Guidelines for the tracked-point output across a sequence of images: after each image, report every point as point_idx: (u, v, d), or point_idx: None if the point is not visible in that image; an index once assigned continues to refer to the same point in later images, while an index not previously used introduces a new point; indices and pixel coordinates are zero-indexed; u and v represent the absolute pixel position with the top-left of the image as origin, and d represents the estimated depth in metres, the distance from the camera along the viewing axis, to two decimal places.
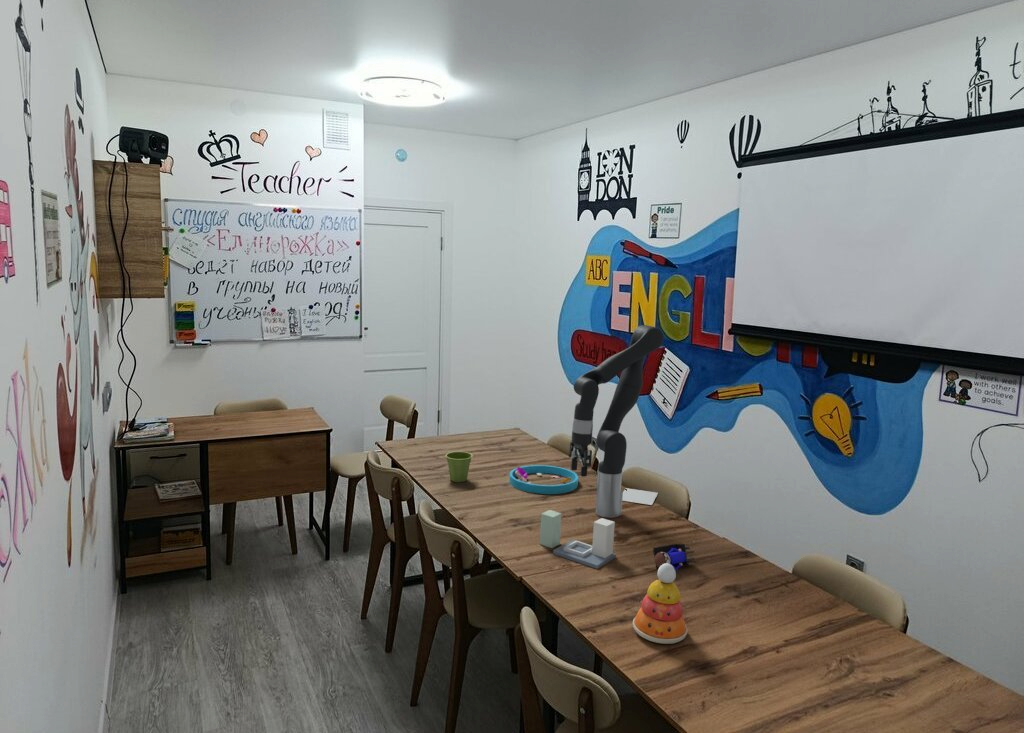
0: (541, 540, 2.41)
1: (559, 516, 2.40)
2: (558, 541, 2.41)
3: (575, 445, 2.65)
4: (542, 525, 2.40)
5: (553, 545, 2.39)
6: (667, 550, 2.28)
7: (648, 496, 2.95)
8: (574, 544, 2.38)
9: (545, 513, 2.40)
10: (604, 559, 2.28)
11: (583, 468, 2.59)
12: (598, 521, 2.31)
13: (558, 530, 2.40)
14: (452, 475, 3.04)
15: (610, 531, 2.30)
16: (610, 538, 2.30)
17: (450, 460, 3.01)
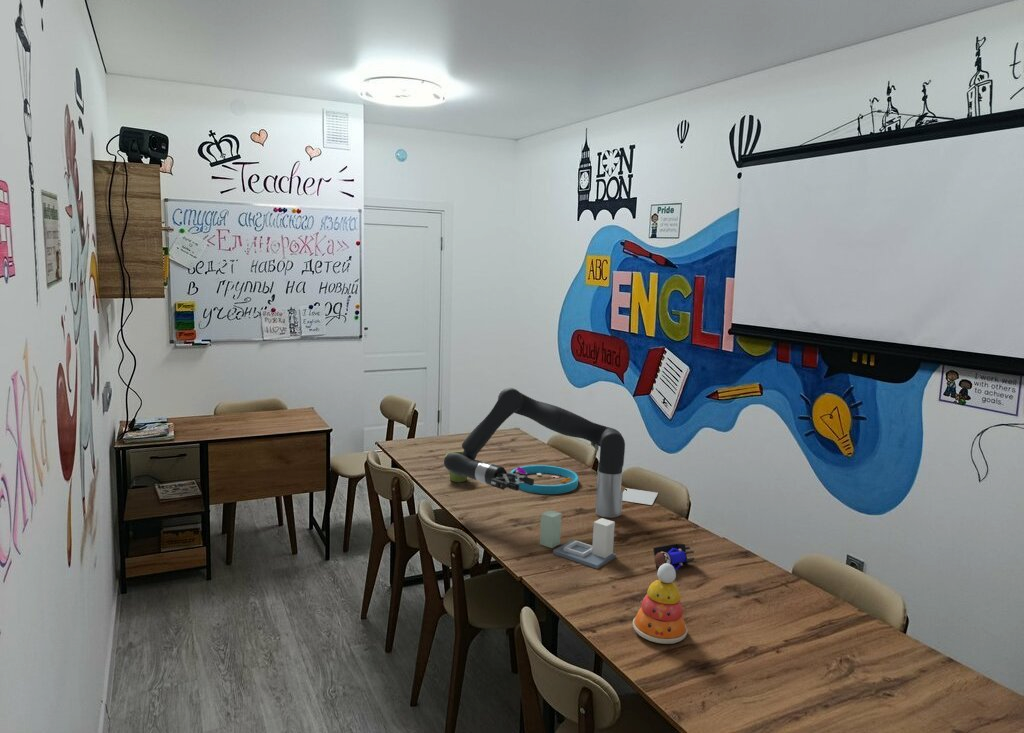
0: (541, 540, 2.41)
1: (559, 515, 2.40)
2: (558, 541, 2.41)
3: None
4: (542, 525, 2.40)
5: (553, 545, 2.39)
6: (667, 550, 2.28)
7: (648, 496, 2.95)
8: (574, 544, 2.38)
9: (545, 513, 2.40)
10: (604, 559, 2.28)
11: (510, 487, 2.44)
12: (598, 521, 2.31)
13: (558, 530, 2.40)
14: (452, 475, 3.04)
15: (610, 531, 2.30)
16: (610, 538, 2.30)
17: None
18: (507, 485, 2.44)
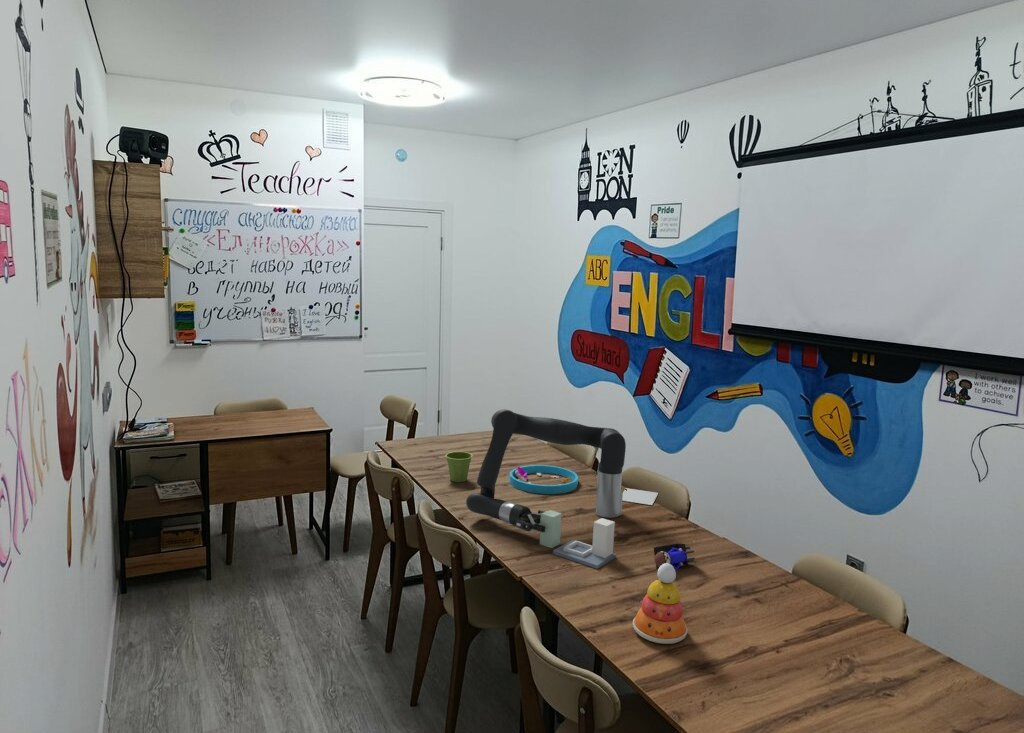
0: (541, 540, 2.41)
1: (559, 516, 2.40)
2: (558, 541, 2.41)
3: None
4: None
5: (553, 545, 2.39)
6: (667, 550, 2.28)
7: (648, 496, 2.95)
8: (574, 544, 2.38)
9: (545, 513, 2.40)
10: (604, 559, 2.28)
11: (535, 529, 2.39)
12: (598, 521, 2.31)
13: (558, 530, 2.40)
14: (452, 475, 3.04)
15: (610, 531, 2.30)
16: (610, 538, 2.30)
17: (450, 460, 3.02)
18: (533, 527, 2.39)
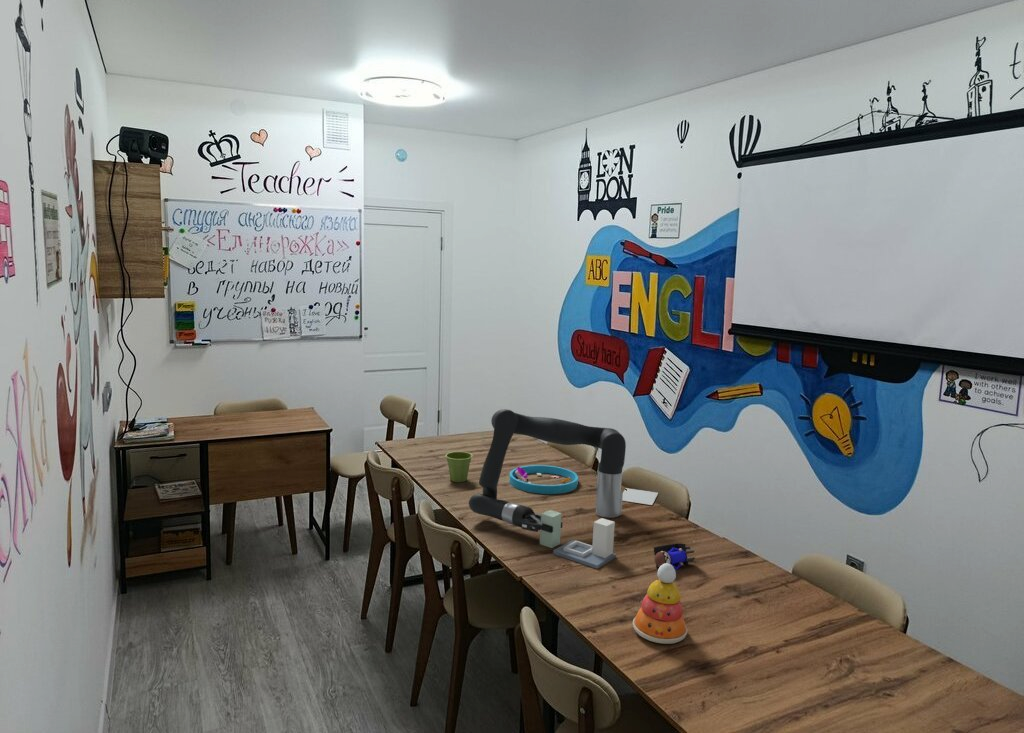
0: (541, 540, 2.41)
1: (559, 515, 2.40)
2: (558, 541, 2.41)
3: None
4: None
5: (553, 545, 2.39)
6: (668, 549, 2.28)
7: (648, 496, 2.95)
8: (574, 544, 2.38)
9: (545, 513, 2.40)
10: (604, 559, 2.28)
11: (543, 529, 2.39)
12: (598, 521, 2.31)
13: (558, 530, 2.40)
14: (452, 475, 3.04)
15: (610, 531, 2.30)
16: (610, 538, 2.30)
17: (450, 460, 3.01)
18: (540, 527, 2.38)
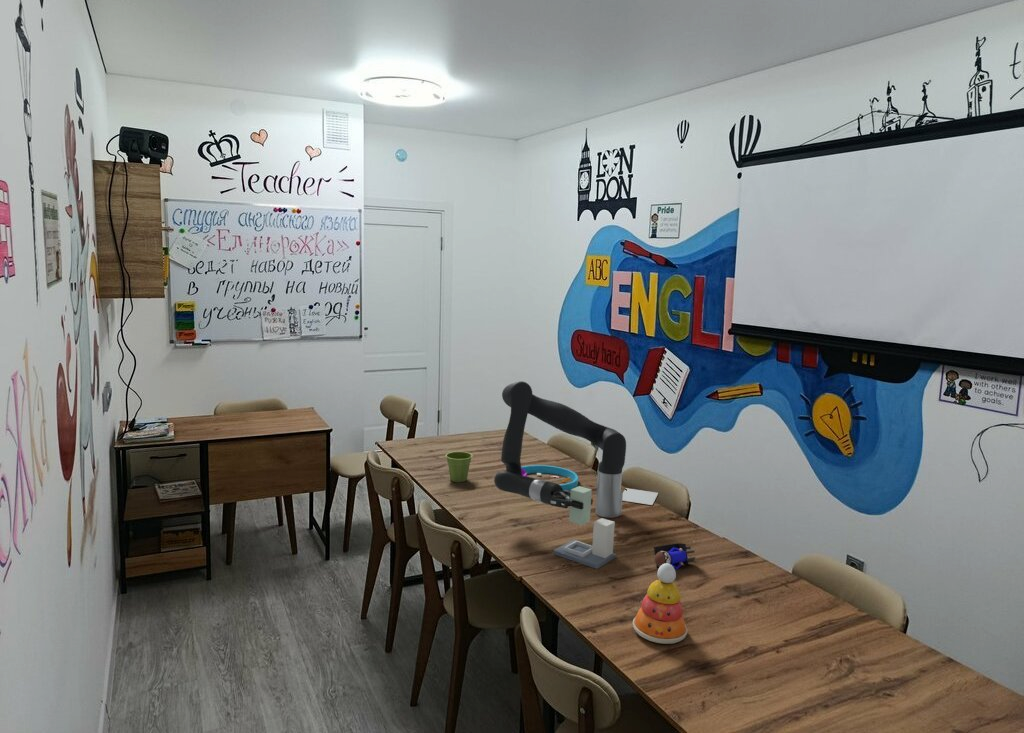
0: (570, 517, 2.32)
1: (589, 492, 2.31)
2: (588, 518, 2.33)
3: None
4: None
5: (583, 522, 2.30)
6: (668, 549, 2.28)
7: (648, 496, 2.95)
8: (574, 544, 2.38)
9: (575, 489, 2.31)
10: (604, 559, 2.28)
11: (573, 506, 2.30)
12: (598, 521, 2.31)
13: (588, 507, 2.32)
14: (452, 475, 3.04)
15: (610, 531, 2.30)
16: (610, 538, 2.30)
17: (450, 460, 3.01)
18: (570, 504, 2.30)
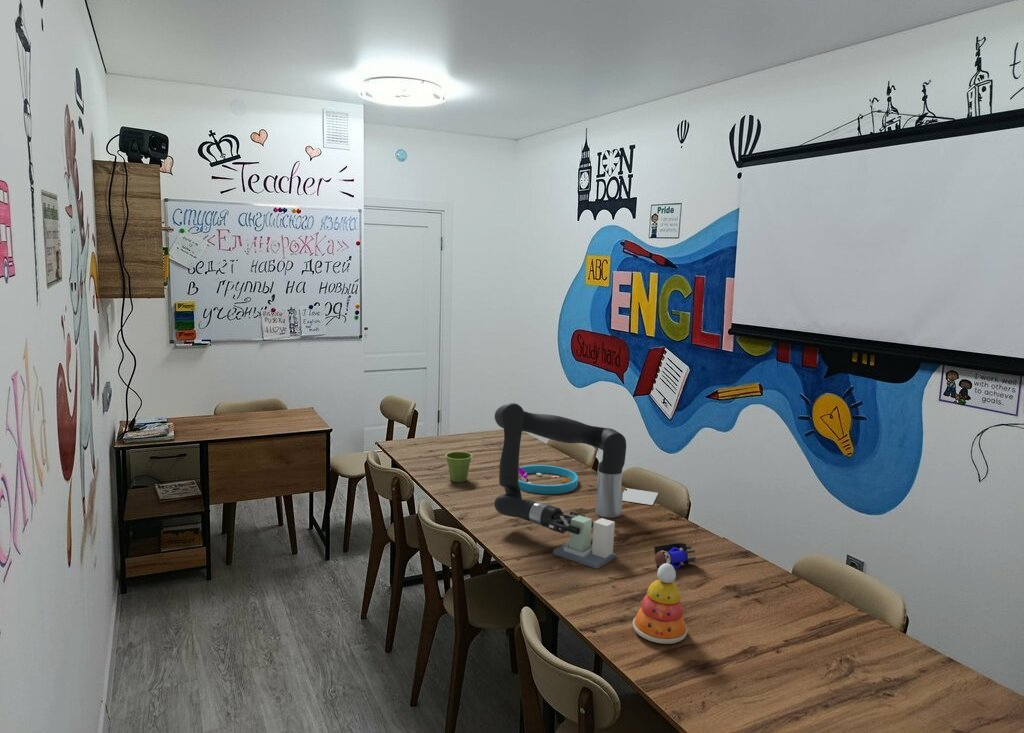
0: (571, 546, 2.33)
1: (589, 521, 2.32)
2: (588, 547, 2.34)
3: None
4: None
5: None
6: (668, 549, 2.29)
7: (648, 496, 2.95)
8: None
9: (575, 518, 2.33)
10: (604, 559, 2.28)
11: (570, 531, 2.30)
12: (598, 521, 2.31)
13: (588, 536, 2.33)
14: (452, 475, 3.04)
15: (610, 531, 2.30)
16: (610, 538, 2.30)
17: (450, 460, 3.01)
18: (567, 529, 2.30)
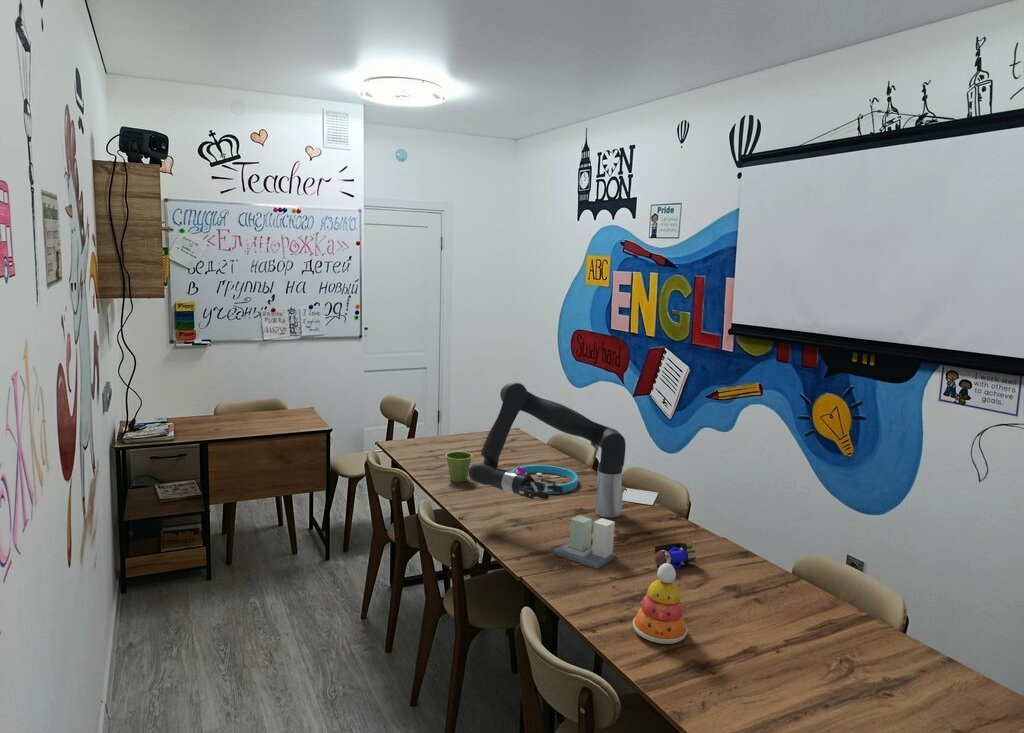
0: (571, 546, 2.33)
1: (589, 521, 2.32)
2: (588, 547, 2.34)
3: None
4: (572, 531, 2.33)
5: None
6: (669, 549, 2.29)
7: (648, 496, 2.95)
8: None
9: (575, 518, 2.33)
10: (604, 559, 2.28)
11: (539, 496, 2.37)
12: (598, 521, 2.31)
13: (588, 536, 2.33)
14: (452, 475, 3.04)
15: (610, 531, 2.30)
16: (610, 538, 2.30)
17: (450, 460, 3.01)
18: (536, 494, 2.37)
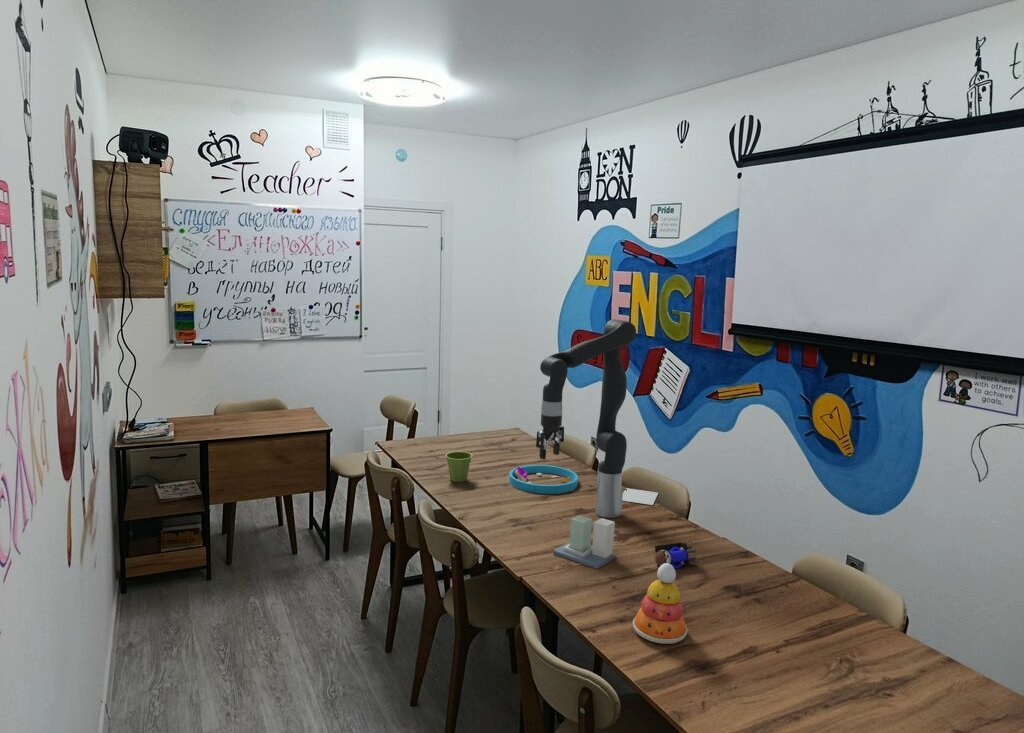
0: (571, 546, 2.33)
1: (589, 521, 2.32)
2: (588, 547, 2.34)
3: None
4: (572, 531, 2.33)
5: None
6: (669, 548, 2.29)
7: (648, 495, 2.95)
8: None
9: (575, 518, 2.33)
10: (604, 559, 2.28)
11: (540, 450, 2.51)
12: (598, 521, 2.31)
13: (588, 536, 2.33)
14: (452, 475, 3.04)
15: (610, 531, 2.30)
16: (610, 538, 2.30)
17: (450, 460, 3.01)
18: (541, 449, 2.50)
